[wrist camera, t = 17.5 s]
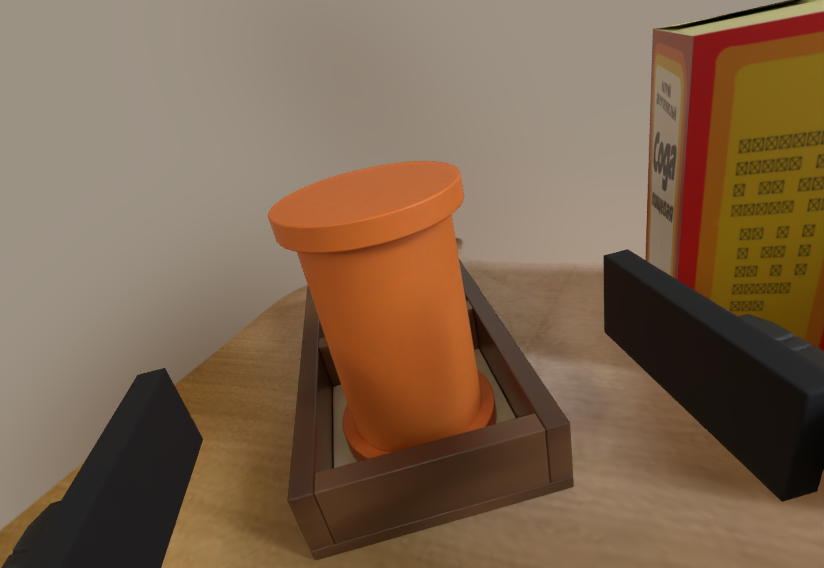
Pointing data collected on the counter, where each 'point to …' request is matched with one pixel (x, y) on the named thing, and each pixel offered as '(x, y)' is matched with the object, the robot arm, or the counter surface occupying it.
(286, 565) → the counter surface
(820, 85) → the baking soda box
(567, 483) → the divided tray
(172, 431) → the robot arm
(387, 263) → the spool
